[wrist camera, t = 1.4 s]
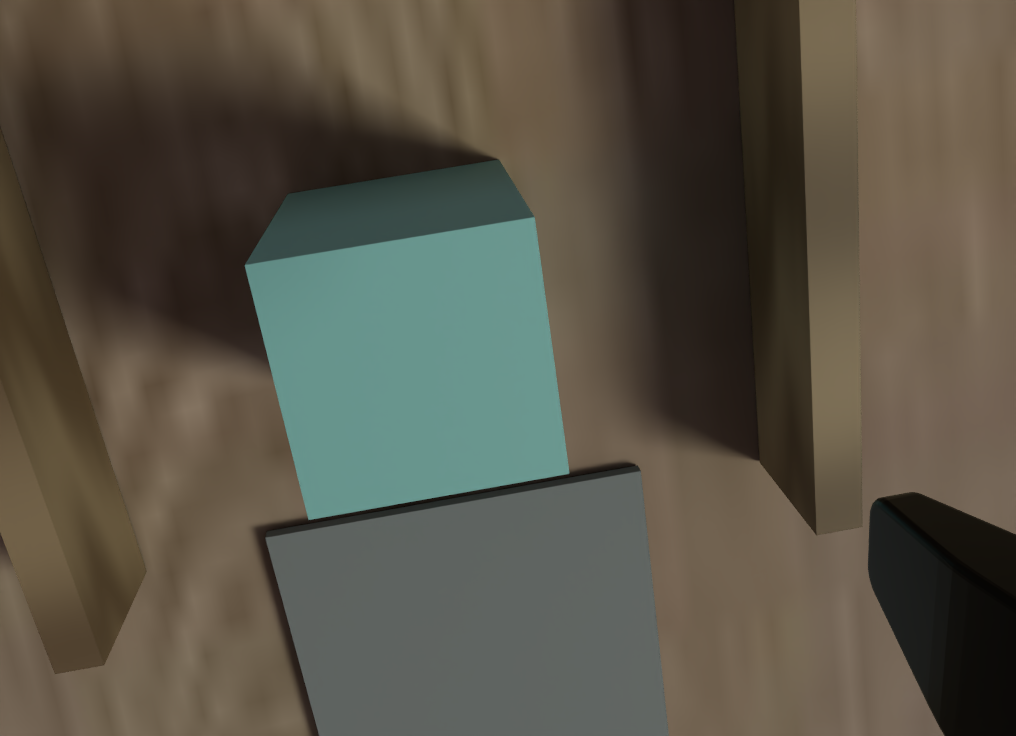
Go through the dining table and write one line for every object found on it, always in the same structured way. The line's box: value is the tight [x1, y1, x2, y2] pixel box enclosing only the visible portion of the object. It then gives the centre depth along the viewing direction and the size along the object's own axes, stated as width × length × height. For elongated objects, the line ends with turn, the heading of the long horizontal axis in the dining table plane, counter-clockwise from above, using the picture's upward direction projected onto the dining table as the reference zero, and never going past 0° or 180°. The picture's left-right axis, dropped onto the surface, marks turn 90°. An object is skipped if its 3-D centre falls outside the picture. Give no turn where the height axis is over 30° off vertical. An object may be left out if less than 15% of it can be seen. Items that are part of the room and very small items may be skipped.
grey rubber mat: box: [265, 466, 669, 736], centre depth 25 cm, size 9×9×1 cm
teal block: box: [245, 160, 569, 520], centre depth 18 cm, size 4×4×6 cm
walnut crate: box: [0, 0, 863, 674], centre depth 19 cm, size 15×17×4 cm
